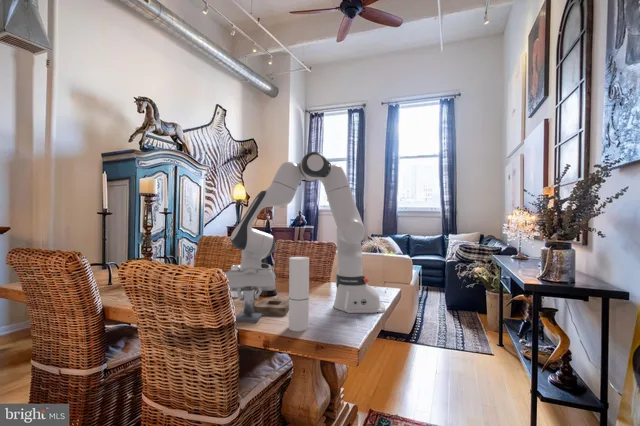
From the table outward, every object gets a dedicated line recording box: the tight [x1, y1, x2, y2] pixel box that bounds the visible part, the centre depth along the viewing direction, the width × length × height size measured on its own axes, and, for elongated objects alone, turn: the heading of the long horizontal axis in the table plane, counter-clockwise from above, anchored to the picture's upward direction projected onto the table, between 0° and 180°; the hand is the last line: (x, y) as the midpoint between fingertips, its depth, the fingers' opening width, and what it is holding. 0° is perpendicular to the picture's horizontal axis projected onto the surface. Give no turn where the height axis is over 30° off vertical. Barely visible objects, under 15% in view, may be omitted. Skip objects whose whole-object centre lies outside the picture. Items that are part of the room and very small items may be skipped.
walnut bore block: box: [255, 297, 289, 316], centre depth 132 cm, size 13×13×3 cm
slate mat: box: [235, 311, 264, 324], centre depth 121 cm, size 9×9×1 cm
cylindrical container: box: [288, 256, 310, 332], centre depth 112 cm, size 7×7×25 cm
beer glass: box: [230, 264, 243, 299], centre depth 153 cm, size 7×7×15 cm
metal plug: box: [242, 286, 256, 315], centre depth 121 cm, size 4×4×10 cm
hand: (249, 299), depth 121 cm, fingers closed on metal plug, 4 cm apart
